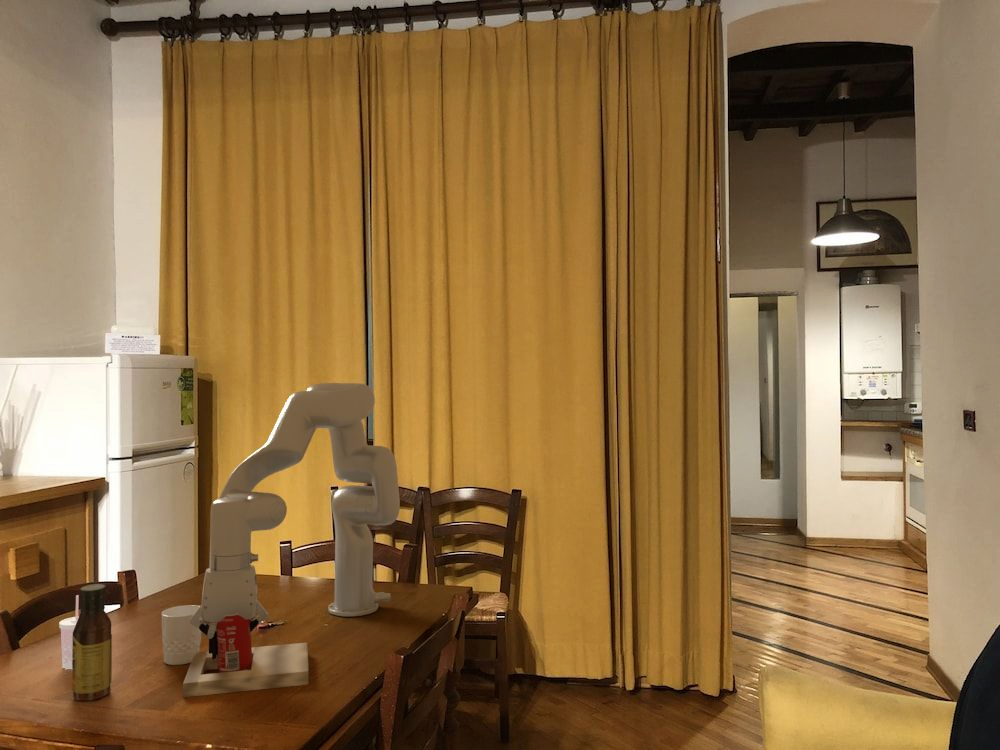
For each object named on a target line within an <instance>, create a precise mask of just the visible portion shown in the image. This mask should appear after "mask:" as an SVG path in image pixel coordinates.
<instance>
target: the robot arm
mask: <svg viewBox="0 0 1000 750" xmlns="http://www.w3.org/2000/svg"><path fill="white" fill-rule="evenodd" d="M375 402H376V401H375V395H374V392H373V390H372V388H371V387H369V385H367V384H364V383H359V382H358V383H357V382H356V383H355V382H353V383H352V382H350V383H349V382H348V383H347V382H345V383H344V382H323V383H321V382H320V383H315V384H312V385H310V386H309V387H307V390H299V391H296V392H294V393H292V394H291V395H290V396H289V397H288V398H287V400H286V401H285V404H284V406H283V408H282V410H281V412H280V414H279V416H278V418H277V420H276V421H275V424H274V427H273V428H272V431H271V433H270V435H269V437H268V439H267V441H266V442H265V444H264V445H263V446H262V447H259V449H257V450H256V451H254V452H253V453H251V454H250V455H249V456H248V457H247V458H246V459H245V460H243V461H242V462H241V463H240V464H239V465H238V466H236V468H235V469H233V470H232V473H230V476H229V477H228V479H227V481H226V482H225V485H224V487H223V488H222V491H221V492H220V496H219V497H218V499H215V500H214V501H213V502H212V503H211V504H210V511H209V512H210V515H209V517H210V519H209V520H210V521H209V523H210V525H209V527H210V529H209V567H208V568H206V569H205V571H204V572H205V573H204V577H203V578H204V579H203V583H202V584H203V585H202V592H201V593H202V595H201V604H200V605H199V606H200V607H199V609H198V610H197V611H196V612H195V614H194V615H193V616H192V618H191V619H190V624H192V625H193V626H195V627H196V628H199V629H200V630H201V633H202V634H204V635H205V636H206V637H207V639H208V651H209V654H212V659H215V658H216V657H217V635H216V626H217V623H218V622H220V621H221V620H222V619H224V618H225V617H226V616H225V615H229V614H236V613H239V614H238V615H239V616H241V617H243V618H245V619H246V620H250V621H251V623H250V629H249V634H250V632H251V633H252V631H253V630H255V629H256V628H257V627H258V625H260V624H261V623H263V621H265V620H266V619H267V618H268V617H269V613H268V611H267V610H266V609H265V608H264V606H263V605H262V603H261V602H260V601H259V600H258V583H257V582H258V581H257V572H256V567H255V565H253V563H254V562H259V554H258V553H257V554H255V553H253V552H252V548H251V547H252V532H259V531H260V532H261V531H269V530H274V529H275V528H277V527H279V526H280V525H281V524H282V523H283V522H284V520H285V519H286V517H287V512H288V511H287V510H288V507H287V503H286V501H285V500H284V499H283V497H281V496H280V495H278V494H276V493H273V492H272V493H271V492H261V491H259V492H258V491H253V490H254V489H255V487H257V485H258V484H259V483H260V482H261V481H263V480H265V479H266V478H268V477H270V476H272V475H274V474H276V473H278V472H281V471H284V470H287V469H289V468H291V467H293V466H296V465H298V464H299V463H300V462H301V461H303V459H304V457H305V454H306V452H307V450H308V447H309V445H310V444H311V441H312V439H313V437H314V434H315V432H316V430H317V429H328V431H329V437H330V443H331V454H332V464H333V469H334V470H333V471H334V474H335V477H336V478H337V479H338V480H340V481H342V482H347V483H353V484H352V485H351V484H349V485H344V486H342V487H339V488H338V489H337V490H336V491H335V493H334V494H333V496H332V499H331V513H332V518H333V524H334V534H335V535H334V536H335V537H334V538H335V540H334V542H335V543H334V546H335V548H334V553H335V554H334V601H333V602H331V603H329V604H328V605H327V606H328V607H327V611H328V612H329V614H331V615H333V616H334V615H335V616H337V617H347V618H348V617H361V616H366V615H370V614H373V613H374V612H377V611H378V609H379V602H391V599H392V598H391V597H392V595H391V592H390V593H389V592H388V593H387V592H386V593H385V592H384V591H380V592H376V591H375V590H374V587H373V576H374V575H373V568H374V567H373V563H374V561H373V559H374V558H373V557H374V553H373V552H374V539H373V535H372V532H371V529H370V528H369V526H368V525H374V526H389V525H392V524H394V522H396V520H397V519H398V517H399V514H400V509H401V508H400V507H401V506H400V505H401V504H400V503H401V500H400V490H399V477H398V467H397V461H396V458H395V455H394V453H393V451H391V449H389V448H388V447H386V446H383V445H368V443H367V441H366V434H365V428H364V423H363V421H362V420H364V419H366V418H368V416H369V415H370V414H371V413H372V411H373V410H374V407H375ZM355 483H356V484H357V485H354V484H355ZM358 484H359V485H358ZM360 484H370V485H372V486H370V485H360ZM256 614H258V615H257V616H256ZM200 617H201V618H202V620H200Z"/></svg>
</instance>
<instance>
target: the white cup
mask: <svg viewBox="0 0 1000 750" xmlns="http://www.w3.org/2000/svg"><path fill="white" fill-rule="evenodd" d="M200 606H201V605H197V604H196V605H194V604H193V605H191V604H189V605H188V604H186V605H177V606H173V607H169V608H166V609H164V610H162V611H161V639H162V641H161V643H162V649H163V651H162V652H163V662H164V663H165V664H166V665H171V666H178V665H179V666H181V665H186V664H191V661H192V659H193V656H194V653H195V652H200V651H201V650H200V648H201V641H202V631H201V630H200V629H199V628H196V627H195V626H193V625H192V624H190V619H191V618H192V616H193V615H194V614H195V612H196V611H197V610H198V609H199V607H200ZM200 620H202V618H201V617H200Z"/></svg>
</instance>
